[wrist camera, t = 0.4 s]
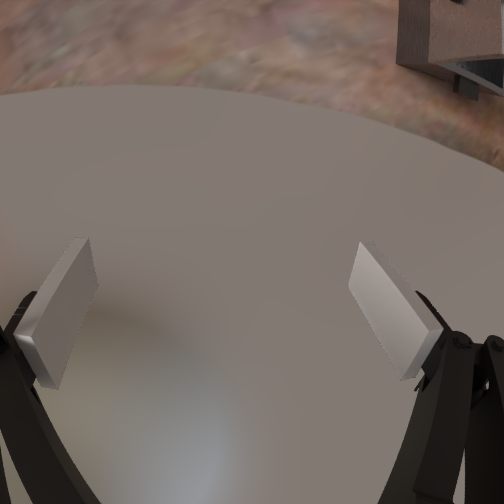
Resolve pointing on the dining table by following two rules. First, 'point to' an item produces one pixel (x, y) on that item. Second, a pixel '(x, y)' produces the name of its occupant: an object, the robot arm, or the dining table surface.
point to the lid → (465, 30)
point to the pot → (458, 73)
